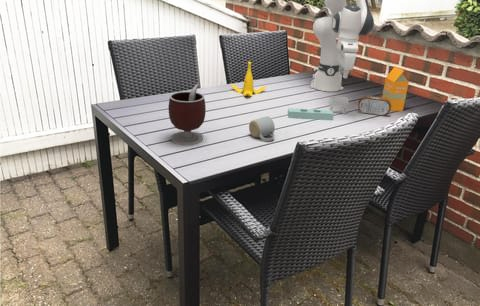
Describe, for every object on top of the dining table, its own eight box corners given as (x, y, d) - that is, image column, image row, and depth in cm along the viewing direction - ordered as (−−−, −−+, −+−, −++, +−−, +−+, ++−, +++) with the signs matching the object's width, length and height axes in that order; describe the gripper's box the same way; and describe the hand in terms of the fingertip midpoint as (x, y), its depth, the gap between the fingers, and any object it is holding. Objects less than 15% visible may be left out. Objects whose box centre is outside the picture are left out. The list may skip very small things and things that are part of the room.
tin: (389, 115, 199) (392, 98, 196) (389, 117, 197) (392, 100, 193) (356, 111, 203) (359, 94, 200) (356, 112, 201) (359, 96, 197)
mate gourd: (194, 148, 155) (194, 96, 147) (162, 141, 160) (160, 90, 152) (213, 134, 168) (213, 86, 160) (183, 128, 173) (182, 81, 165)
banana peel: (246, 99, 213) (248, 67, 206) (230, 89, 228) (231, 58, 221) (274, 96, 220) (277, 64, 213) (256, 86, 235) (258, 57, 228)
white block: (329, 113, 199) (331, 97, 195) (328, 111, 200) (330, 96, 197) (346, 114, 198) (348, 98, 195) (345, 112, 200) (347, 97, 197)
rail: (287, 114, 195) (288, 107, 194) (330, 116, 194) (331, 110, 193) (288, 117, 190) (288, 111, 189) (332, 120, 190) (333, 113, 189)
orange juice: (394, 105, 214) (402, 66, 206) (403, 110, 206) (411, 70, 198) (380, 105, 213) (387, 66, 205) (388, 111, 205) (396, 70, 197)
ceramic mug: (247, 134, 170) (248, 116, 167) (263, 130, 174) (264, 113, 171) (262, 144, 162) (264, 125, 159) (279, 140, 167) (280, 122, 163)
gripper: (336, 40, 195) (332, 69, 201) (344, 48, 177) (340, 80, 183) (349, 40, 195) (345, 70, 201) (359, 49, 177) (354, 81, 182)
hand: (343, 75), depth 192 cm, fingers open, 8 cm apart
